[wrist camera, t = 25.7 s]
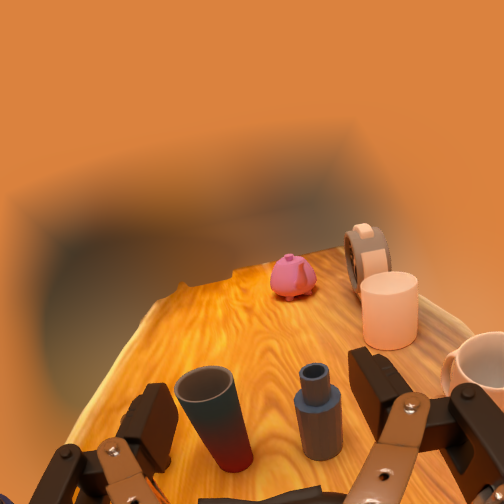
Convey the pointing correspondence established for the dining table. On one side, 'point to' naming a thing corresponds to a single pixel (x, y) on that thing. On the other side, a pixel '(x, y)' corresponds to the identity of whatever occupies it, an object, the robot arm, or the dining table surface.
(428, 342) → the dining table surface
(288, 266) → the teapot
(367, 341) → the cup
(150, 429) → the robot arm
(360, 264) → the alarm clock
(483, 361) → the mug
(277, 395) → the dining table surface
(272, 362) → the dining table surface
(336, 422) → the bottle
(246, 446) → the cup
